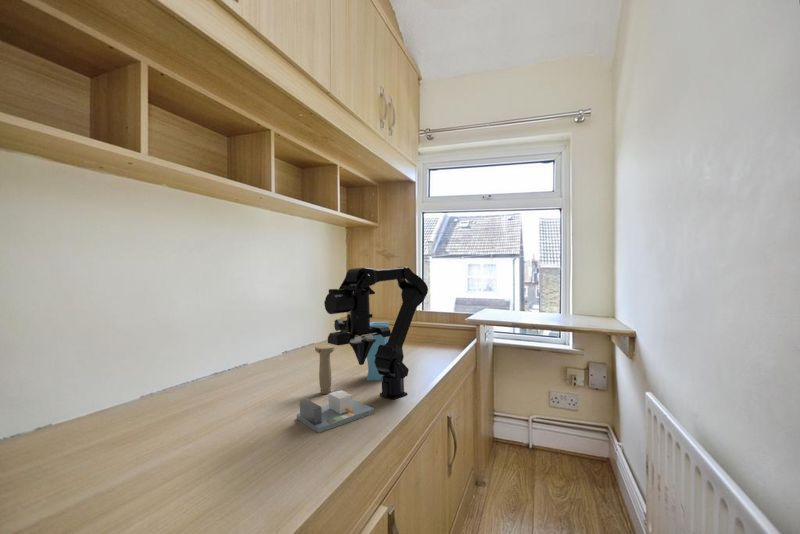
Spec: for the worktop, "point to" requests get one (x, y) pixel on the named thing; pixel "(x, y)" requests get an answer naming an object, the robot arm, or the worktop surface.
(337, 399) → the block
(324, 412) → the board
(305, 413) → the dark grey upright slab
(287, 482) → the worktop surface
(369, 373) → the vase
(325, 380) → the handle
